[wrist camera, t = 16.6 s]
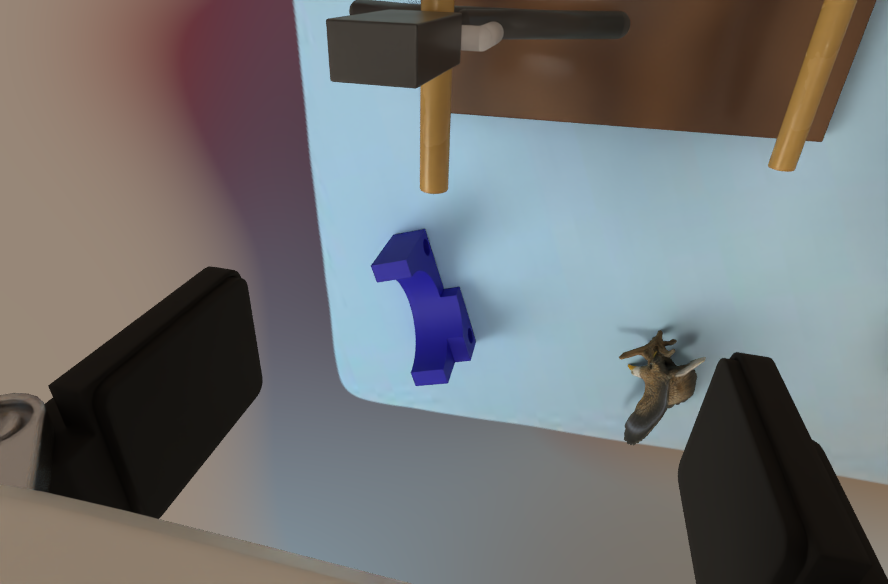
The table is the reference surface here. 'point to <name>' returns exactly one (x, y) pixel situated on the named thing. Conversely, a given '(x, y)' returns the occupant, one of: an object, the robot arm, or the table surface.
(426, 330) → the cable clip
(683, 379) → the eagle figurine
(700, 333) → the table surface
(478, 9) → the hanger
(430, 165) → the rack
